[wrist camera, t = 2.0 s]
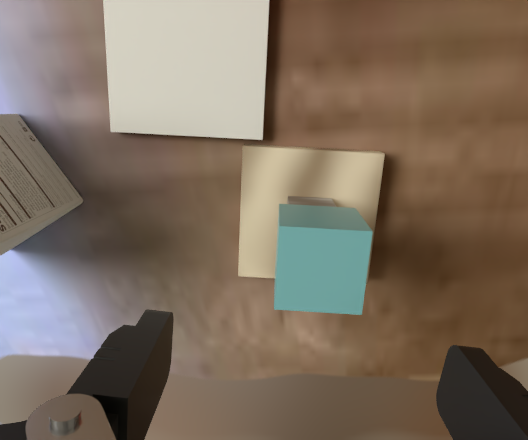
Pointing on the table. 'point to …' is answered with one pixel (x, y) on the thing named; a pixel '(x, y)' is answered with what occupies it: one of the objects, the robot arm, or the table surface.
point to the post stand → (300, 193)
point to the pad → (187, 66)
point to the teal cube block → (321, 259)
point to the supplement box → (28, 185)
